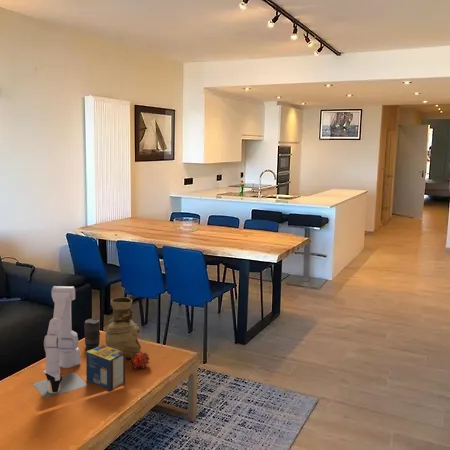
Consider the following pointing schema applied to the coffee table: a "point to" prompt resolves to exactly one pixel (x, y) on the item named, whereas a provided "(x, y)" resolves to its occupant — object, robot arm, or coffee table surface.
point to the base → (61, 385)
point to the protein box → (105, 367)
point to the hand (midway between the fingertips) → (53, 388)
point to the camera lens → (92, 333)
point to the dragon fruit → (140, 360)
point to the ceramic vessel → (123, 328)
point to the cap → (51, 388)
